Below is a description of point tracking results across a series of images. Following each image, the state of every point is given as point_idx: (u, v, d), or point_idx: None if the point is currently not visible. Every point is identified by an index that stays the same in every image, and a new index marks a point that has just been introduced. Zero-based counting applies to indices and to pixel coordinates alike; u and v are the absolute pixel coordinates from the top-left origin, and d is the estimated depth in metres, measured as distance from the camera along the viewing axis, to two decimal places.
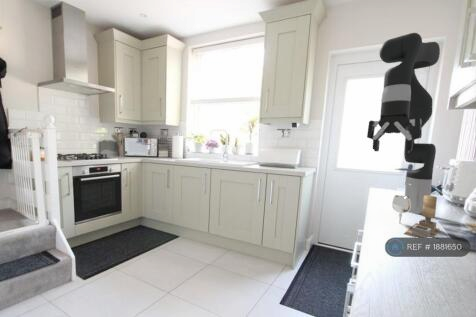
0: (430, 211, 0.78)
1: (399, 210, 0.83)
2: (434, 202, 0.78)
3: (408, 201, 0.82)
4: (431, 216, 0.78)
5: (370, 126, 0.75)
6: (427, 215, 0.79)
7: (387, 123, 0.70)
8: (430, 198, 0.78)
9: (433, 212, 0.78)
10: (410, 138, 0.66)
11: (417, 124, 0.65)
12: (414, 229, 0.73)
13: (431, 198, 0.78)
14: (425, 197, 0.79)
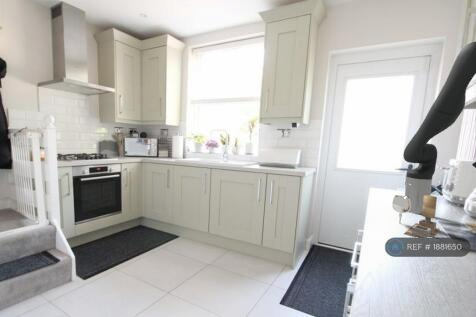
0: (430, 211, 0.78)
1: (399, 210, 0.83)
2: (434, 202, 0.78)
3: (408, 201, 0.82)
4: (431, 216, 0.78)
5: None
6: (427, 215, 0.79)
7: None
8: (430, 198, 0.78)
9: (433, 212, 0.78)
10: None
11: None
12: (414, 229, 0.73)
13: (431, 198, 0.78)
14: (425, 197, 0.79)
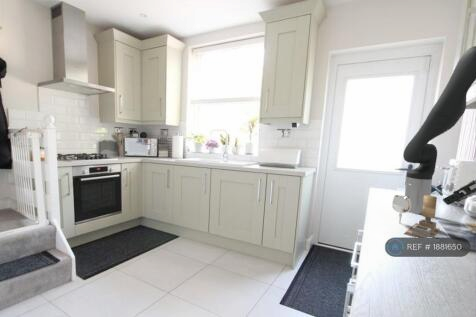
0: (430, 211, 0.78)
1: (399, 210, 0.83)
2: (434, 202, 0.78)
3: (408, 201, 0.82)
4: (431, 216, 0.78)
5: (474, 192, 0.66)
6: (427, 215, 0.79)
7: None
8: (430, 198, 0.78)
9: (433, 212, 0.78)
10: None
11: None
12: (414, 229, 0.73)
13: (431, 198, 0.78)
14: (425, 197, 0.79)
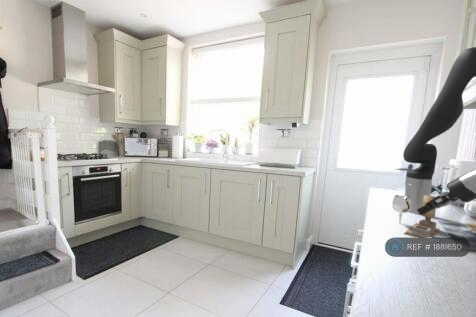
0: (430, 211, 0.78)
1: (399, 210, 0.83)
2: None
3: (408, 201, 0.82)
4: (431, 216, 0.78)
5: (440, 204, 0.73)
6: (427, 215, 0.79)
7: (452, 202, 0.73)
8: (430, 198, 0.78)
9: (433, 212, 0.78)
10: None
11: None
12: (414, 229, 0.73)
13: (431, 198, 0.78)
14: (425, 197, 0.79)
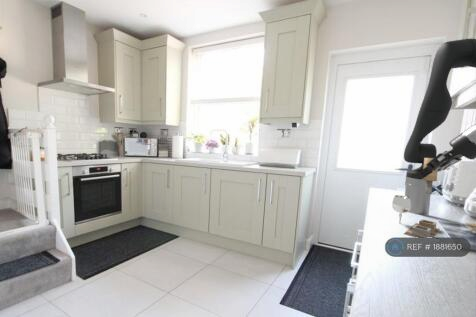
0: (431, 173, 0.72)
1: (399, 210, 0.83)
2: None
3: (408, 201, 0.82)
4: (433, 179, 0.72)
5: (442, 163, 0.66)
6: (428, 178, 0.72)
7: (456, 160, 0.67)
8: (431, 159, 0.72)
9: (435, 175, 0.72)
10: None
11: (455, 162, 0.72)
12: (414, 229, 0.73)
13: None
14: (426, 159, 0.73)
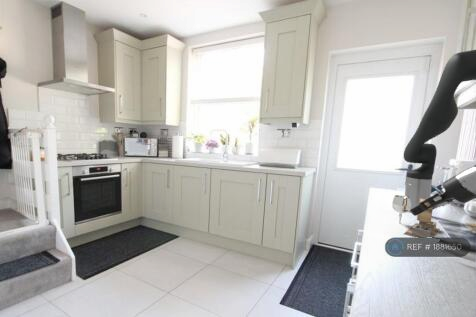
0: (426, 214, 0.73)
1: (399, 210, 0.83)
2: None
3: (408, 201, 0.82)
4: (427, 220, 0.72)
5: (437, 204, 0.65)
6: (422, 219, 0.73)
7: (448, 203, 0.67)
8: None
9: (429, 216, 0.72)
10: None
11: (453, 199, 0.71)
12: (414, 229, 0.73)
13: None
14: (421, 200, 0.74)
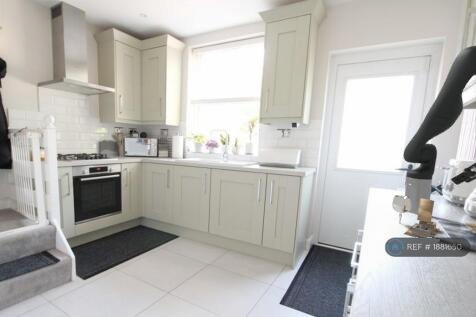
0: (426, 214, 0.73)
1: (399, 210, 0.83)
2: (431, 205, 0.73)
3: (408, 201, 0.82)
4: (427, 220, 0.72)
5: None
6: (423, 219, 0.73)
7: None
8: (427, 200, 0.73)
9: (429, 216, 0.72)
10: None
11: None
12: (414, 229, 0.73)
13: (428, 200, 0.73)
14: (422, 199, 0.75)
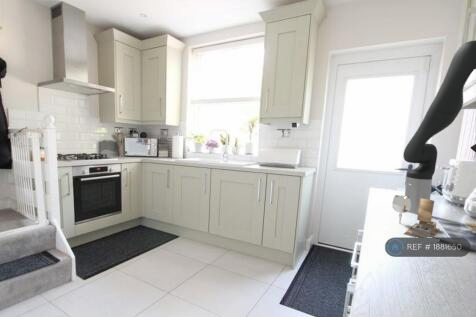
0: (426, 214, 0.73)
1: (399, 210, 0.83)
2: (431, 205, 0.73)
3: (408, 201, 0.82)
4: (427, 220, 0.72)
5: None
6: (423, 219, 0.73)
7: None
8: (427, 200, 0.73)
9: (429, 216, 0.72)
10: None
11: None
12: (414, 229, 0.73)
13: (428, 200, 0.73)
14: (422, 199, 0.75)
